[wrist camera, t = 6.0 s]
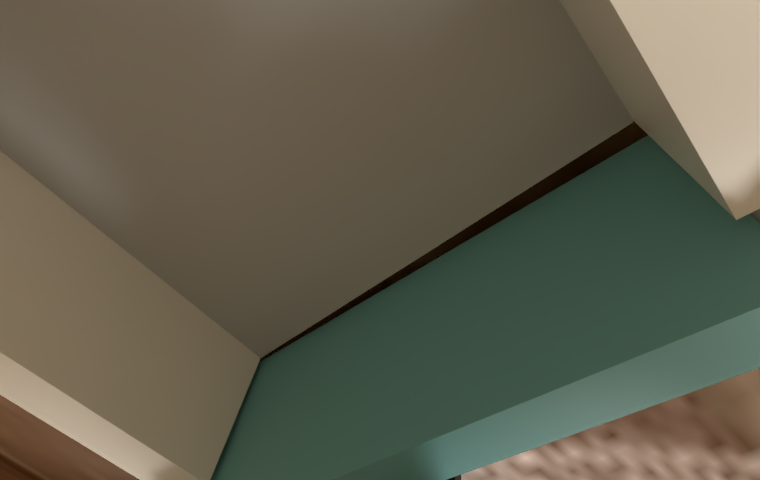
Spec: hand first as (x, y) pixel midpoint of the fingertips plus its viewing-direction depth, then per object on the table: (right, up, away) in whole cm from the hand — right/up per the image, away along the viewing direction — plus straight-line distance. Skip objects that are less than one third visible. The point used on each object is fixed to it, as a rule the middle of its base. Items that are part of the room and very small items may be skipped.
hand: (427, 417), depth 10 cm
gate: (0, +3, 0) cm, 3 cm away
